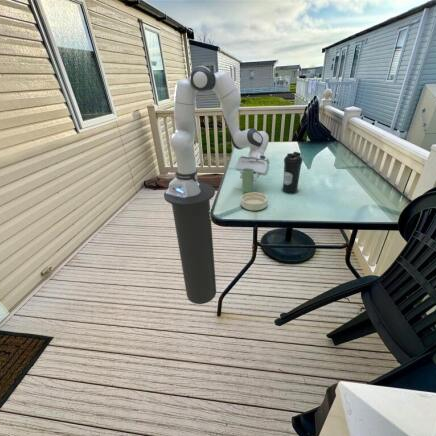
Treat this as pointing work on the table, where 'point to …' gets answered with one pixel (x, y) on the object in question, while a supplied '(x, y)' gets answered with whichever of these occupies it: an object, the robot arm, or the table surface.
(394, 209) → the table surface
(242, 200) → the bowl
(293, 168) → the water bottle
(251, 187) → the tumbler
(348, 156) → the table surface
